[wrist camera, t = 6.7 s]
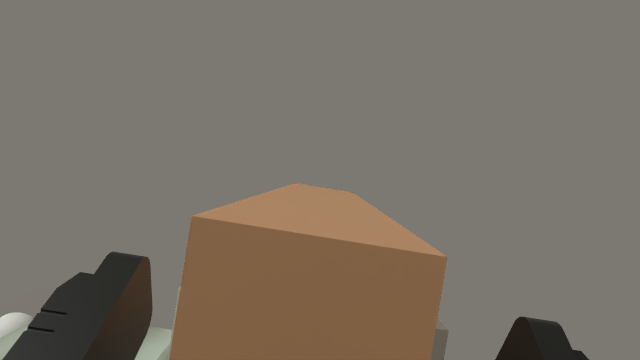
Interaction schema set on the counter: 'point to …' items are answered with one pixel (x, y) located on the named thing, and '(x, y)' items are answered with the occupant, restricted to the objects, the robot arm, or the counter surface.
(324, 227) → the bar
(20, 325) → the lightbulb
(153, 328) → the tower
